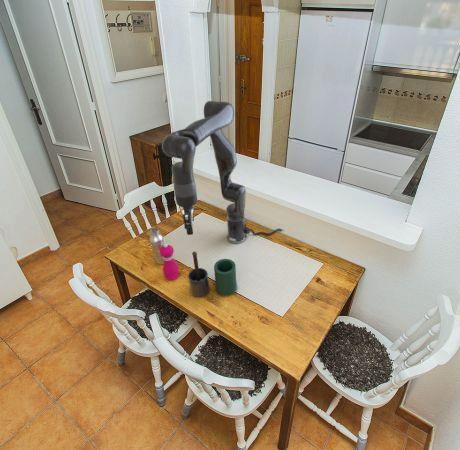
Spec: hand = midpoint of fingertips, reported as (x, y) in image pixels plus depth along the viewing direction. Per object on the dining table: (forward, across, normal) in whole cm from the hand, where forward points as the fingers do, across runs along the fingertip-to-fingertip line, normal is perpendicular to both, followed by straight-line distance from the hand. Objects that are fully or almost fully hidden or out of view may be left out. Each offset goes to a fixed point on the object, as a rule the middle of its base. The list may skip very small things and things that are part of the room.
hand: (190, 227), depth 122 cm
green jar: (+36, 0, -12) cm, 38 cm away
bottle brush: (+35, 0, 0) cm, 35 cm away
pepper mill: (+36, +10, +14) cm, 40 cm away
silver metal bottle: (+36, +21, +20) cm, 46 cm away
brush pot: (+36, 0, 0) cm, 36 cm away
